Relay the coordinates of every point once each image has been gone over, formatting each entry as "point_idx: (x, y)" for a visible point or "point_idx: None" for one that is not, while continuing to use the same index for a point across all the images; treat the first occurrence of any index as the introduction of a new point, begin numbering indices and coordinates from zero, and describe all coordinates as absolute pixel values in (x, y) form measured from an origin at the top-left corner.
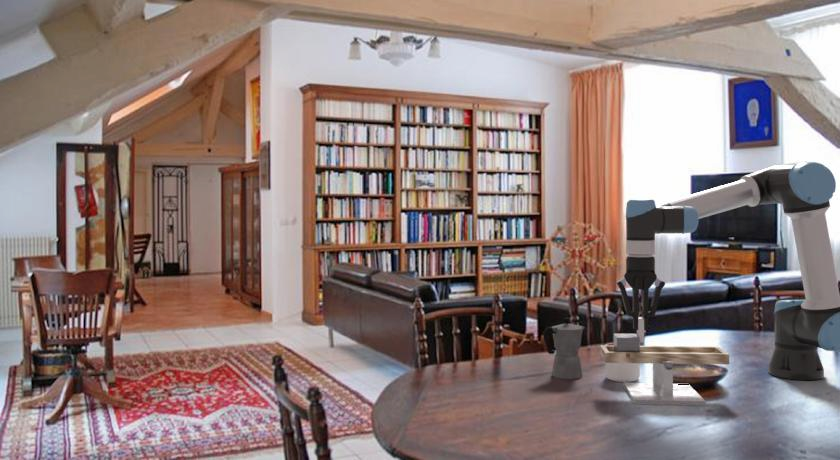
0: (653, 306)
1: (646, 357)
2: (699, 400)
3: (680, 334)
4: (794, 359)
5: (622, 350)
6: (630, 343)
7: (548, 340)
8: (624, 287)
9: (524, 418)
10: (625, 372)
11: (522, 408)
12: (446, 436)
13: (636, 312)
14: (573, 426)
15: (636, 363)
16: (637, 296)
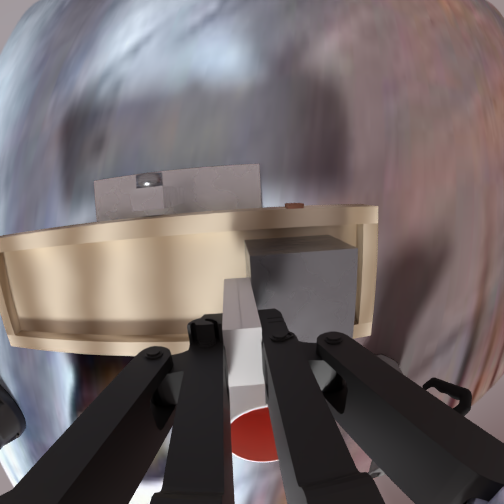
0: (134, 389)
1: (221, 211)
2: (104, 184)
3: None
4: None
5: (315, 238)
6: (289, 247)
7: (453, 389)
8: (495, 476)
9: (448, 73)
10: None
11: (458, 127)
12: (490, 31)
13: (283, 352)
14: (378, 24)
15: (231, 391)
16: (306, 456)
